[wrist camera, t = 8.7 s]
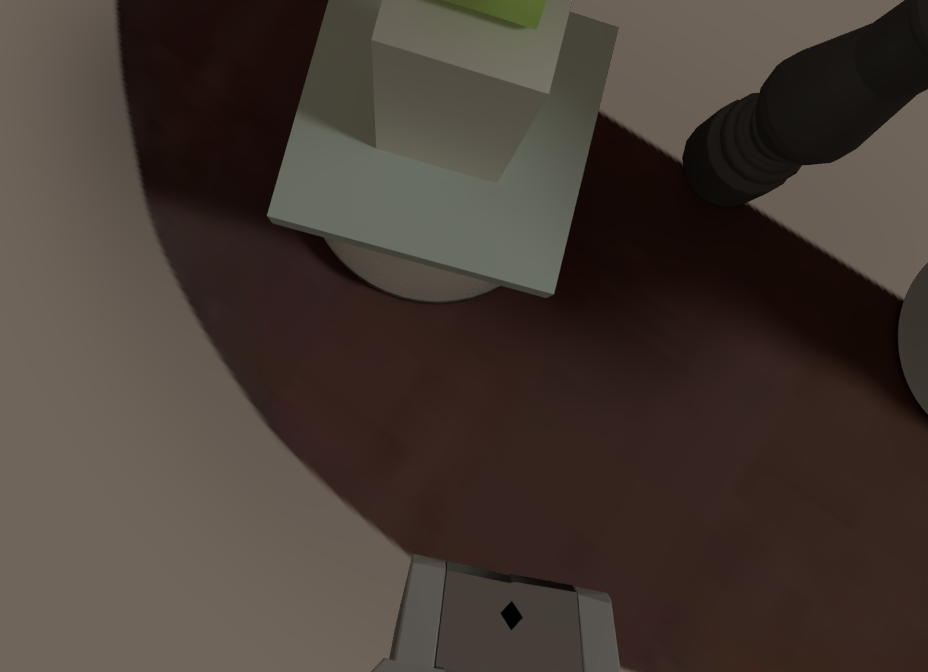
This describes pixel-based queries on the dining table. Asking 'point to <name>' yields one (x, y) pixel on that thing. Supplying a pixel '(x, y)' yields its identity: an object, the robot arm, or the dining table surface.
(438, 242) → the white stepped fixture
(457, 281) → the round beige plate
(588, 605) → the robot arm
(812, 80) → the candle holder
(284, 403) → the dining table surface
